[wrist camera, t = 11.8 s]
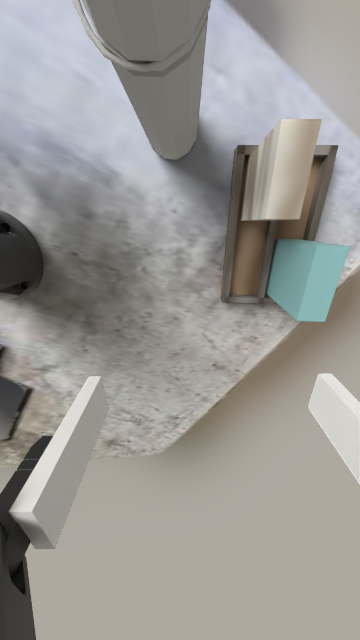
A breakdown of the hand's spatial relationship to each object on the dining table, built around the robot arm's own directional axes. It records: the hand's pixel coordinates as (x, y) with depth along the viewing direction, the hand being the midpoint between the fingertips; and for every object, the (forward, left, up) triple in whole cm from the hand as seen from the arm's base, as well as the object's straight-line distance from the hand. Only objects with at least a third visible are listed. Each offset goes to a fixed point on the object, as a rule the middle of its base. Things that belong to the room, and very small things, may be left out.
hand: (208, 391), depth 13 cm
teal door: (+14, +3, -27) cm, 30 cm away
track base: (+11, +8, -28) cm, 31 cm away
